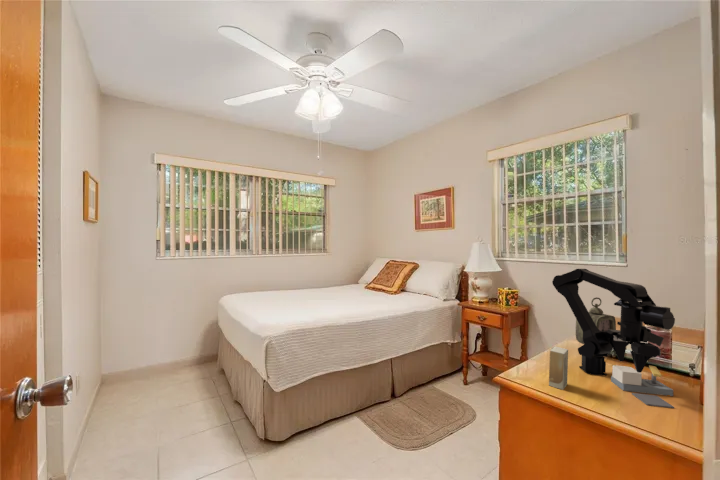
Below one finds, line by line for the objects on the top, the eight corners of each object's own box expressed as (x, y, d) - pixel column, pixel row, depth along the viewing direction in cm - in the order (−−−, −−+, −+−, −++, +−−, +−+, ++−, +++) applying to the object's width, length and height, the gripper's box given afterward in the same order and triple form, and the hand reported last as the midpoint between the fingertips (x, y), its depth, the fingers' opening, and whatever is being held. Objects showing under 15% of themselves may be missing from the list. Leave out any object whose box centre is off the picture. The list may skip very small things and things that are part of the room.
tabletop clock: (595, 358, 131) (597, 300, 131) (573, 351, 139) (574, 296, 140) (615, 354, 137) (616, 298, 137) (592, 347, 145) (594, 294, 145)
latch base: (623, 390, 103) (623, 384, 103) (610, 381, 109) (611, 375, 109) (673, 396, 100) (673, 389, 100) (657, 386, 107) (657, 379, 107)
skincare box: (553, 380, 109) (554, 345, 109) (567, 384, 106) (568, 349, 106) (548, 385, 104) (549, 349, 104) (563, 390, 101) (564, 353, 101)
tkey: (661, 390, 99) (661, 375, 99) (653, 388, 100) (653, 373, 100) (655, 380, 106) (656, 366, 106) (648, 379, 107) (648, 365, 107)
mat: (646, 405, 93) (647, 403, 93) (631, 394, 100) (631, 392, 100) (674, 408, 92) (674, 407, 92) (656, 396, 99) (657, 395, 99)
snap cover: (622, 383, 103) (622, 371, 103) (612, 376, 108) (612, 365, 108) (641, 385, 102) (641, 373, 102) (630, 378, 107) (630, 366, 107)
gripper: (681, 331, 94) (680, 381, 95) (640, 316, 113) (638, 358, 113) (639, 327, 97) (637, 377, 97) (605, 314, 115) (603, 355, 115)
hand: (629, 366), depth 105 cm, fingers open, 9 cm apart
